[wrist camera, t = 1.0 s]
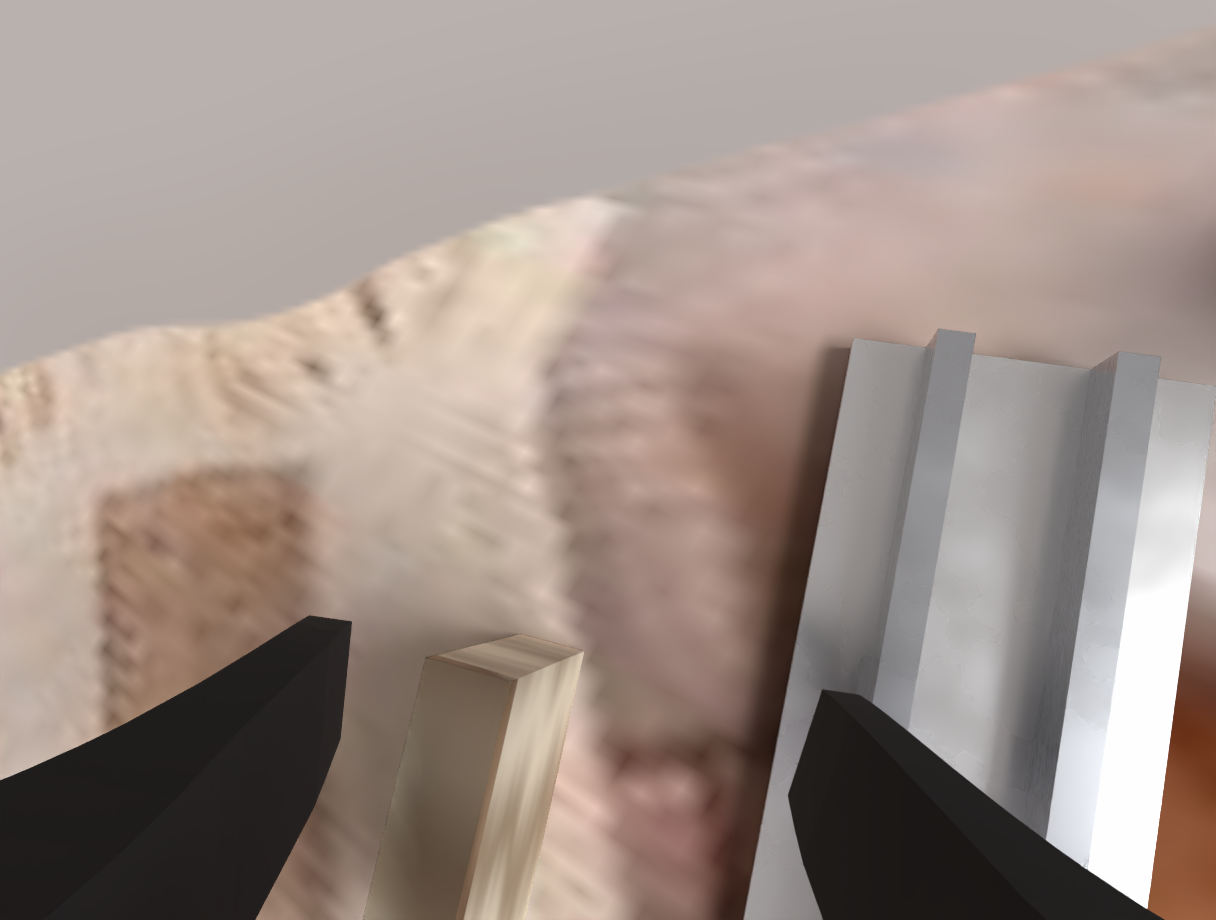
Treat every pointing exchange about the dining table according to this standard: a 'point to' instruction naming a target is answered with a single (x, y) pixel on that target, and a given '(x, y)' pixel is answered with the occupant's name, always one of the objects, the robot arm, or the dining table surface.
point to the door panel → (475, 783)
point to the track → (1003, 590)
